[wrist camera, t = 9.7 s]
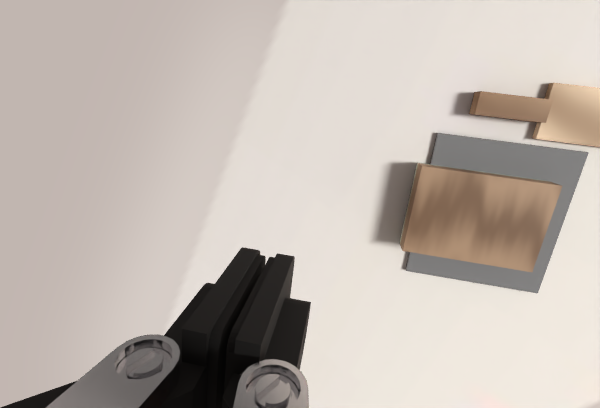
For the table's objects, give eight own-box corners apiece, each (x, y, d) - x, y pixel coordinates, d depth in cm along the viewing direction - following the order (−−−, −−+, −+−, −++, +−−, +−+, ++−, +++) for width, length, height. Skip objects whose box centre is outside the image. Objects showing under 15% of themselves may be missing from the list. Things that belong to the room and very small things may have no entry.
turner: (478, 75, 25) (485, 73, 24) (636, 93, 24) (650, 92, 23) (465, 129, 26) (470, 130, 25) (614, 148, 25) (628, 150, 24)
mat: (437, 132, 27) (438, 133, 26) (585, 152, 25) (588, 152, 25) (405, 269, 30) (406, 270, 30) (535, 291, 29) (537, 293, 28)
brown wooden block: (422, 166, 25) (562, 185, 24) (417, 162, 27) (548, 181, 26) (402, 250, 27) (532, 272, 26) (399, 242, 29) (520, 262, 28)
